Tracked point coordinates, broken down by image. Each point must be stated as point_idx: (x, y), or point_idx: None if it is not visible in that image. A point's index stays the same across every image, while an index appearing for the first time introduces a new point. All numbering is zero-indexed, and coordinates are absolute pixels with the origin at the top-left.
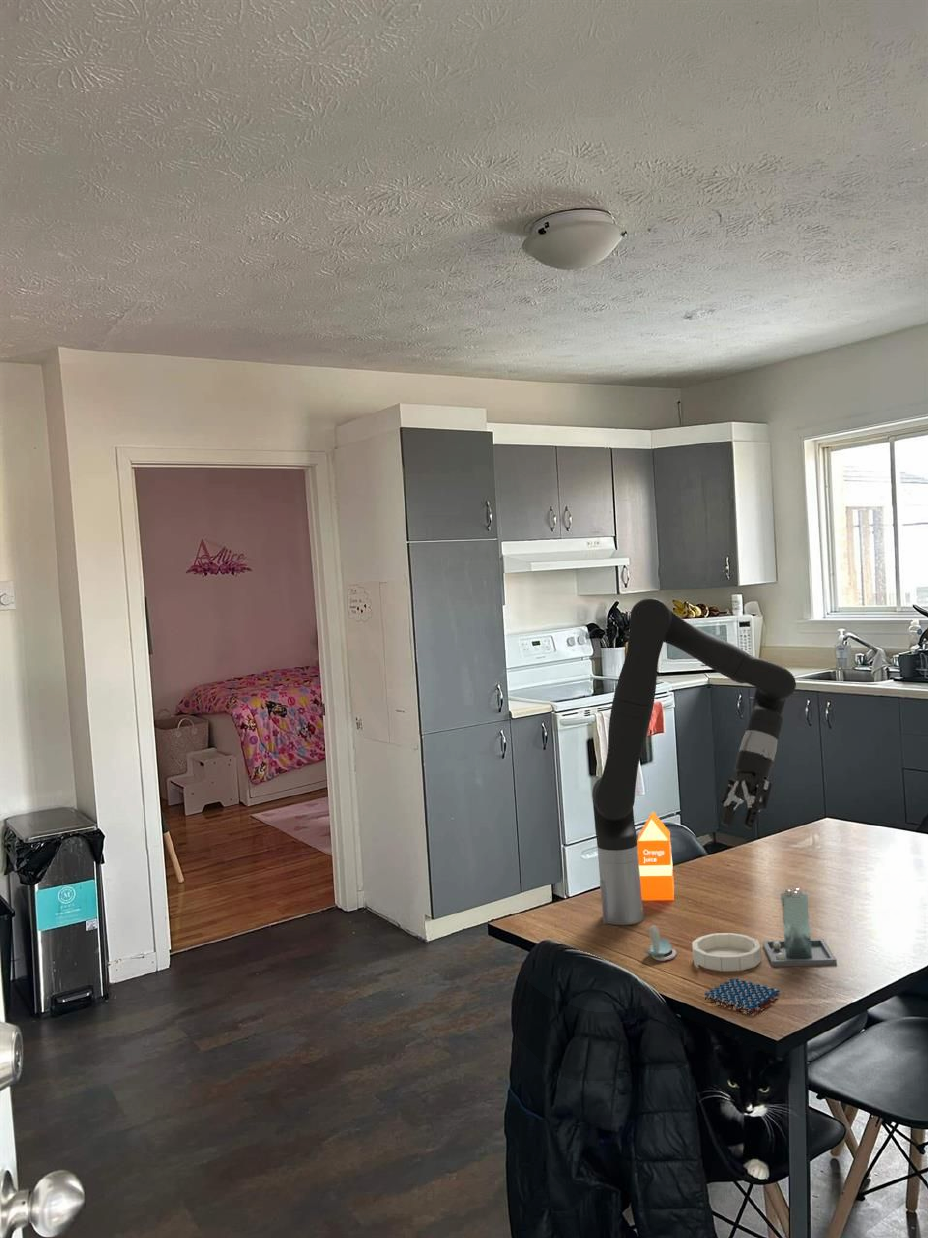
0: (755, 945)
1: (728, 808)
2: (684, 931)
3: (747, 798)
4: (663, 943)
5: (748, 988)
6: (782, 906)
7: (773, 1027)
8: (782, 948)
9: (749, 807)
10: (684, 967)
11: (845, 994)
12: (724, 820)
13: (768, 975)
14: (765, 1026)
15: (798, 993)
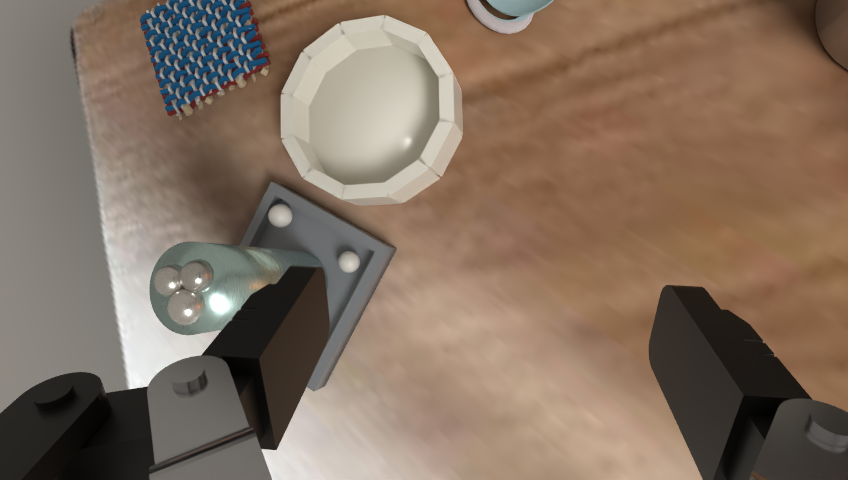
0: (317, 172)
1: (730, 412)
2: (650, 140)
3: (210, 447)
4: (536, 1)
5: (203, 58)
6: (225, 245)
7: (101, 34)
8: (351, 278)
9: (194, 358)
10: (410, 13)
11: (127, 236)
12: (673, 309)
13: (270, 162)
14: (110, 23)
15: (175, 160)
